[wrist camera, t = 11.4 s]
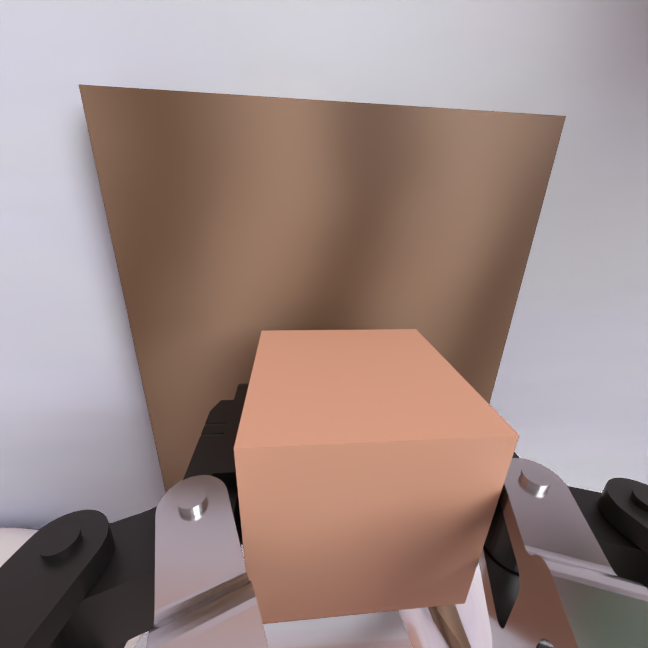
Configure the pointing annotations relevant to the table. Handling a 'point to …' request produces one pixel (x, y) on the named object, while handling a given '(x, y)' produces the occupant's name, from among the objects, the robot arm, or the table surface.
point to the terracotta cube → (363, 474)
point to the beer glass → (451, 622)
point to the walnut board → (308, 232)
